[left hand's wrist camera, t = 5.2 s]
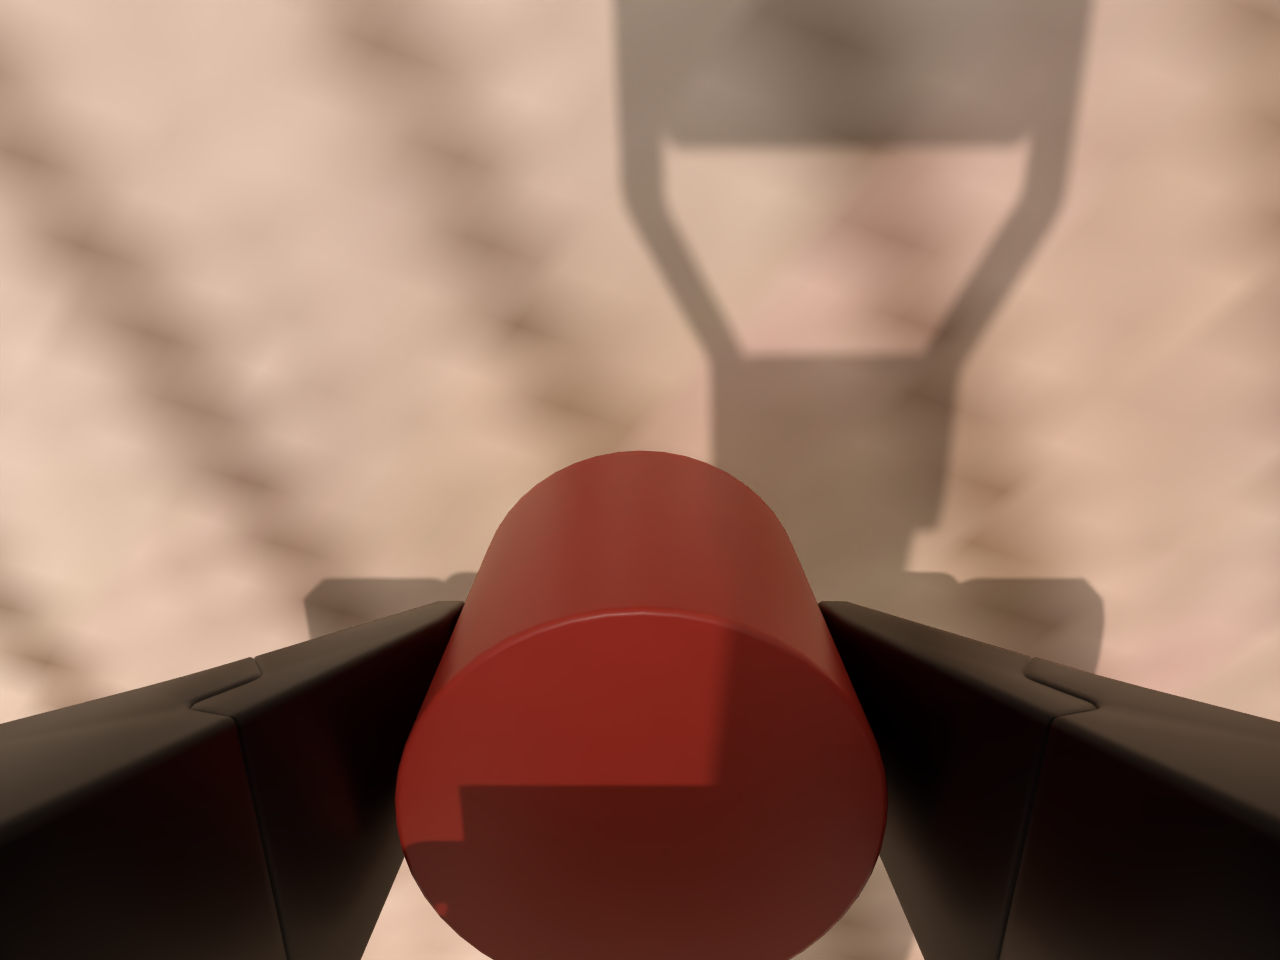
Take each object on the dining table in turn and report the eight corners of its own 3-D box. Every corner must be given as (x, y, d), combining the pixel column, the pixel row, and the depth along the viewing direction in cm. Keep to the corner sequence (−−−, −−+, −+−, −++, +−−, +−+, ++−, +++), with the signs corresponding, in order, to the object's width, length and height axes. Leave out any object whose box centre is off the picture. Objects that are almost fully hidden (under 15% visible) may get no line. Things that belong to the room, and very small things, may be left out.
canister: (614, 780, 13) (601, 1064, 9) (414, 574, 12) (287, 790, 8) (861, 626, 12) (981, 862, 8) (673, 381, 11) (695, 506, 7)
